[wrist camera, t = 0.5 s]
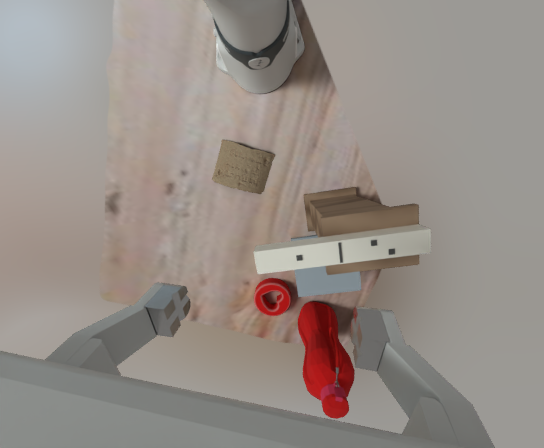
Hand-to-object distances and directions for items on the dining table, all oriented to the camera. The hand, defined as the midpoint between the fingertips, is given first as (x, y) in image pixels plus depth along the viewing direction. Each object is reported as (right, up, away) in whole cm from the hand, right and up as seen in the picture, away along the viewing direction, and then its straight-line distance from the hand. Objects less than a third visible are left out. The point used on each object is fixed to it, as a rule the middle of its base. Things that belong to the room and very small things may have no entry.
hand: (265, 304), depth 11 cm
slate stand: (+12, -3, +46) cm, 48 cm away
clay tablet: (-7, +18, +43) cm, 47 cm away
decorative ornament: (+1, -15, +50) cm, 52 cm away
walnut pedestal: (+15, +8, +44) cm, 47 cm away
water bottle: (+12, -20, +50) cm, 56 cm away
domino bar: (+9, +1, +19) cm, 21 cm away
